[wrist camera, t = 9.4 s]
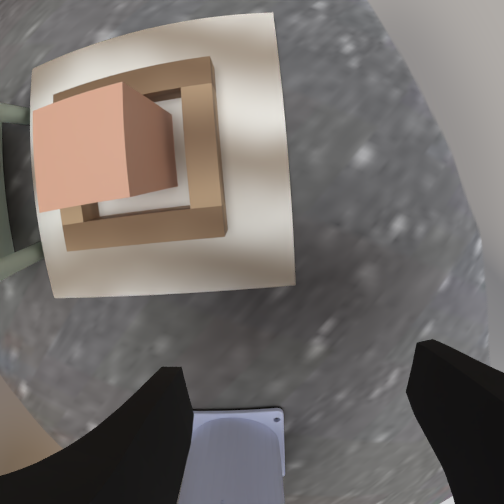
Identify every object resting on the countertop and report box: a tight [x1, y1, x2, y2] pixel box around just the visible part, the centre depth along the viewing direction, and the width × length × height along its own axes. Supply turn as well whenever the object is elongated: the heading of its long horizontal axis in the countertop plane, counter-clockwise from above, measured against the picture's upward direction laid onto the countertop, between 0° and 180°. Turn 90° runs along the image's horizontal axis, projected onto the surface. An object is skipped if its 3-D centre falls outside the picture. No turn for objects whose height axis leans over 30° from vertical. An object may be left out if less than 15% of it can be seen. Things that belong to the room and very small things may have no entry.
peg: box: [33, 82, 178, 213], centre depth 12 cm, size 4×4×7 cm
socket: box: [30, 13, 295, 298], centre depth 15 cm, size 16×16×3 cm
